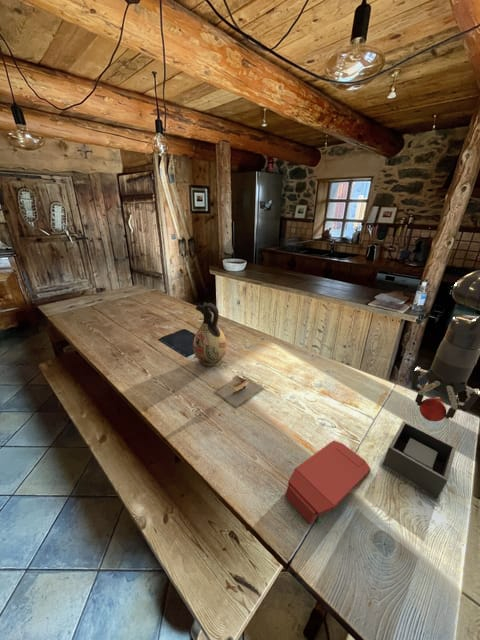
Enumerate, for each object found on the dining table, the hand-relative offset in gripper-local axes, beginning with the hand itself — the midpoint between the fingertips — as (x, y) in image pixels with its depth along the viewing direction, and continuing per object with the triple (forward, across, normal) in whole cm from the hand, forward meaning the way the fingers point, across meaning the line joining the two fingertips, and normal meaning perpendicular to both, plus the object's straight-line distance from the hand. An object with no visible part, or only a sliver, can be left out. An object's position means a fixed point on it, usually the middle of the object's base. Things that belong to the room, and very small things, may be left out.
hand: (432, 410), depth 71 cm
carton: (+19, +15, +24) cm, 34 cm away
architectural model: (+19, +58, +15) cm, 63 cm away
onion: (+4, 0, 0) cm, 4 cm away
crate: (+19, -1, +2) cm, 19 cm away
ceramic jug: (+19, +81, +11) cm, 84 cm away
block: (+18, -1, +2) cm, 19 cm away
